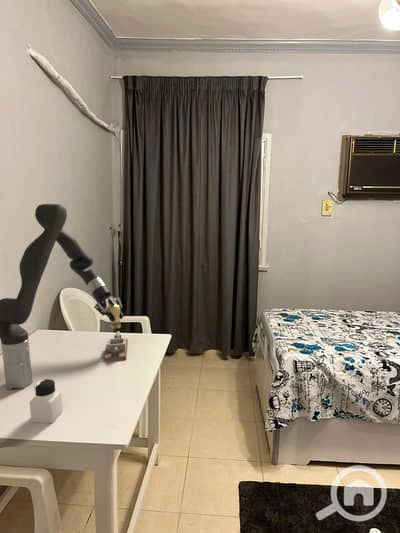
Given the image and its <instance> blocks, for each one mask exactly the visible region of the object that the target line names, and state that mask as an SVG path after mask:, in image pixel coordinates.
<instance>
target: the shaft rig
mask: <svg viewBox="0 0 400 533" xmlns="http://www.w3.org/2000/svg"><path fill="white" fill-rule="evenodd" d="M113 336H114V338H108V339H107V344H106V351H105V355H104V362H113V361H124V360H125V361H126V360H127V354H128V344H129V340H128V338H126V337H122V334H121V332H120V330H117V331H116V332H115V334H114V335H113Z"/></svg>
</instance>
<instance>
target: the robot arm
mask: <svg viewBox="0 0 400 533" xmlns="http://www.w3.org/2000/svg"><path fill="white" fill-rule="evenodd" d="M67 212H68V211H67V209H66V207H65V205H63V204H58V203H42V204H39V205H37V206H36V208H35V212H34V216H35V220H36V221H37V222H38V224H39V225H40V226H41V227H42V228H43V229H44V230H43V231H42V233H41V234H40V235H38V236H37V237H36V238H35V239H34V240H33V241H31V243H30V244H29V245H28V246H26V248H25V250H24V253H23V255H22V257H21V260H20V261H19V267H18V268H19V274H20V281H21V285H20V289H19V292H18V293H17V297H16V298H11V297H10V298H9V297H4V298H0V345H1V353H2V362H3V370H4V379H5V387H6V386H7V387H6V390H7V389H10V390H13V389H12V388H21V389H25V388H26V387H27V386H30V385H31V384H32V383H33V381H34V380H33V371H32V361H31V352H30V342H29V341H30V340H29V333H28V331H27V330H26V329H24V328H23V327H22V326H20V325H23V324H24V323H25V322H27V321H28V320H29V317H30V316H31V313H32V310H33V305H34V302H35V298H36V294H37V291H38V288H39V286H40V282H41V279H42V277H43V274H44V273H45V270H46V267H47V265H48V262H49V258H50V256H51V253H52V251H53V249H54V246H55V244H56V242H57V244H59V246H60V247H61V249H62V250H63V251H64V253H65V254H66V256H67V257H68V259H70V262H69V267H70V269H71V270H72V271H73V272H74V273H75V274H77V275H78V276H79V277H80V278H81V279H82V280H83V282H84V284H85V285H86V286H87V288H88V291H89V292H90V294H91V295H92V297H93V298H94V300H95V301H96V303H95V304H94V309H96V311H97V312H98V313H99V314H101V316H107V318H108V319H109V321H112V322H114V321H115V318H114V316H113V314H112V313H110V307H109V306H110V305H119V308H120V320H122V319H123V318H124V317H125V315H124V313H123V312H122V309H123V304H122V303H123V302H122V301H121V298H120V297H119V296H117V297H114V296H112V292H111V291H110V289H109V288H108V286H107V285H106V283H105V282H104V281H103V279H102V278H101V276H99V273H98V272H97V271H96V269H93V268H92V269H88V268H91V266H92V265H94V264H93V263H94V260H93V257H92V256H91V255H90V254H89V253H88V252H86V251H85V250H83V248H82V247H81V245H80V244H79V242H78V241H77V239H76V238H75V237H74V236H72V234H70V233H68V232H67V231H66V230H65V229H63V228H64V226H65V224H66V222H67V216H68V213H67ZM86 269H87V270H86Z"/></svg>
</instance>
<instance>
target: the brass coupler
mask: <svg viewBox="0 0 400 533" xmlns="http://www.w3.org/2000/svg"><path fill="white" fill-rule="evenodd" d="M109 307H110V313H112V314H113V316H114V318H115V321H114V322H112V321H110V320H109V321H110V323H109V326H110V328H111V329H114V330H116V329H120V328H121V327H122V326H121V319H120V308H119V305H110V306H109Z"/></svg>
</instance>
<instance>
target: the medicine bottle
mask: <svg viewBox="0 0 400 533" xmlns="http://www.w3.org/2000/svg"><path fill="white" fill-rule="evenodd" d="M55 383H56V382H55V380H54V379H51V378H50V379H49V378H46V379H41V380H39V381H36V382H35V384H34V385H33V388H34V397H33V398H32V399H31V400H30V401H29V412H30V420H31V421H30V422H31V423H37V424H38V423H39V424H40V423H41V424H53V423H54V422H56V420H57V418H59V416H60V415H61V414H62V413H63V398H62V391H58V390H56V385H55Z"/></svg>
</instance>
